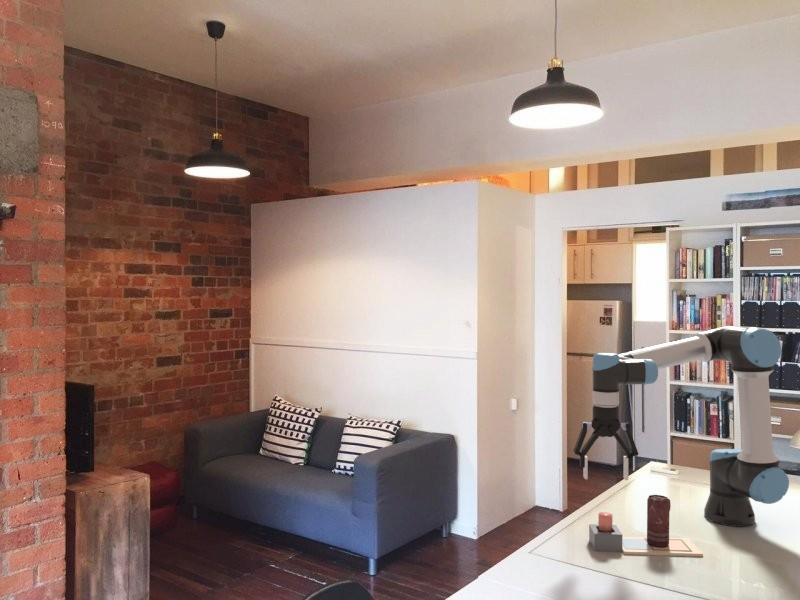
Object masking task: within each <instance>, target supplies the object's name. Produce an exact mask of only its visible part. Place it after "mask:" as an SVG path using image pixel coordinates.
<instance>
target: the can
mask: <svg viewBox="0 0 800 600" xmlns="http://www.w3.org/2000/svg"><path fill="white" fill-rule="evenodd" d="M646 500H647V501H646V504H647V505H646V506H647V507H646V508H647V509H646V513H647V514H646V537H647V542H648V544H649V545H651V546H653V547H658V548H665V547H667V546H668V545H669V538H670V512H671V500H670V498H669V497H667V496H665V495H659V494H650V495H648V498H647V499H646Z"/></svg>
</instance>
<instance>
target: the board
mask: <svg viewBox="0 0 800 600" xmlns="http://www.w3.org/2000/svg"><path fill="white" fill-rule="evenodd" d="M622 553H623V555H632V556H633V555H634V556H635V555H637V556H638V555H639V556H671V557H672V556H673V557H698V558H699V557H704V553H703V552H702V551H701V550H700V549H699V548H698V547H697V546H696V544H694V542H693V541H692V540H691V539H690V538H688V537H669V545H668V546H667V547H665V548H658V547H653V546H651V545H649V544H648V542H647V536H622Z"/></svg>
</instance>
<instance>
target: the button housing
mask: <svg viewBox="0 0 800 600" xmlns="http://www.w3.org/2000/svg"><path fill="white" fill-rule="evenodd" d="M588 527H589V530H588V538H589V539H588V541H589V543H590V545H591V548H592V549H593V550H594V552H620V553H621V552H622V537H623V533H622V532H621V530H620V529H619V527H618V525H617V524H612V531H610V532H604V531H600V530H599V529H598V523H597V524H588ZM622 553H623V552H622Z"/></svg>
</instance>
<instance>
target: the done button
mask: <svg viewBox="0 0 800 600" xmlns="http://www.w3.org/2000/svg"><path fill="white" fill-rule="evenodd" d="M597 514H598V517H597V518H598V523H597V525H598V529H599V530H600V531H604V532H610V531H612V525H613V514H612V513H611V512H607V511H601V512H598V513H597Z"/></svg>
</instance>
